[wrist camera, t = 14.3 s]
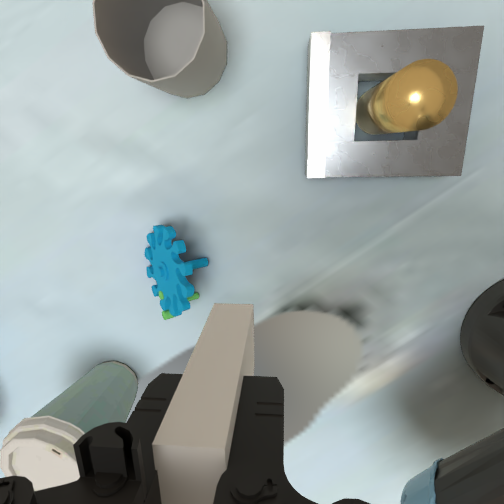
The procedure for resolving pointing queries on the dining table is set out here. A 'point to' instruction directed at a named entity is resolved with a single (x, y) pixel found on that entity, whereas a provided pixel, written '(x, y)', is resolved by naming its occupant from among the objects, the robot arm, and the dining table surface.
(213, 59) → the cup
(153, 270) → the gear
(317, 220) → the dining table surface
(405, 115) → the brass cylinder peg
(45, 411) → the disposable coffee cup
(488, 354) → the robot arm
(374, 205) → the dining table surface
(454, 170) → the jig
